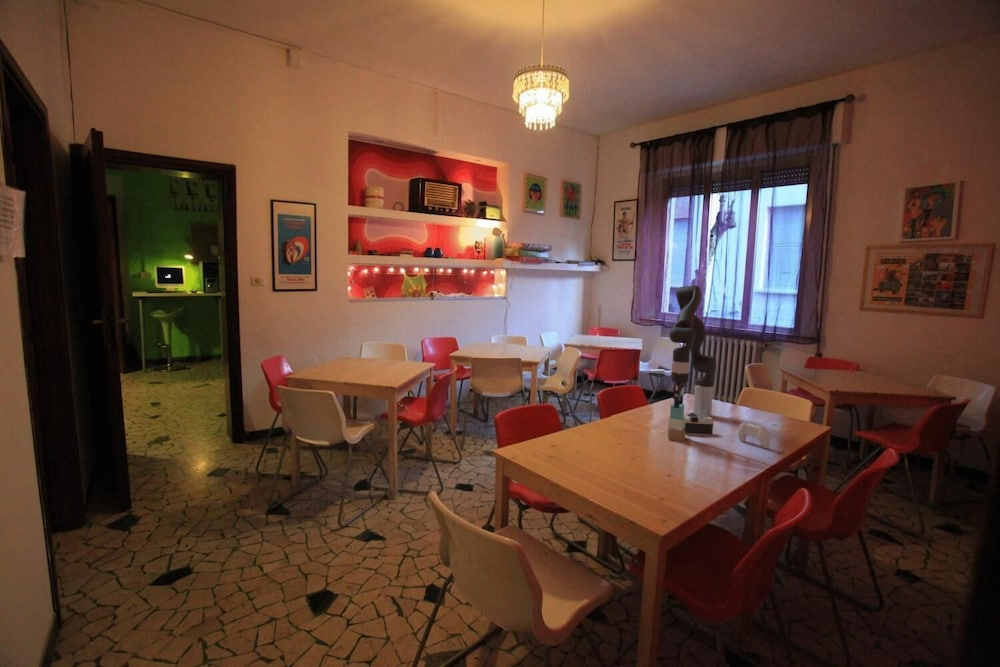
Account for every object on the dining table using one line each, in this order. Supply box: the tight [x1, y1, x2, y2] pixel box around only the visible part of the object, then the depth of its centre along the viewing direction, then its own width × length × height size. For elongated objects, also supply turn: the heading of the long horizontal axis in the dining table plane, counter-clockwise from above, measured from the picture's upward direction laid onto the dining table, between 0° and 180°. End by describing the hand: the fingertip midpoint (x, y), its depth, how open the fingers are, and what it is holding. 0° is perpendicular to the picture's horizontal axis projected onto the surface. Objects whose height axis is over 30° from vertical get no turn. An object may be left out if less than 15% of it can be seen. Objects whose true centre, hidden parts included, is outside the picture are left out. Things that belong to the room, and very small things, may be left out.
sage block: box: [667, 416, 686, 431], centre depth 218 cm, size 6×6×5 cm
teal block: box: [669, 402, 685, 420], centre depth 217 cm, size 5×5×6 cm
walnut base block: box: [667, 428, 686, 442], centre depth 218 cm, size 7×7×5 cm
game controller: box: [737, 421, 771, 450], centre depth 211 cm, size 14×4×10 cm, turn 31°
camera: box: [684, 411, 715, 436], centre depth 228 cm, size 16×9×10 cm, turn 83°
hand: (678, 405), depth 217 cm, fingers open, 8 cm apart
